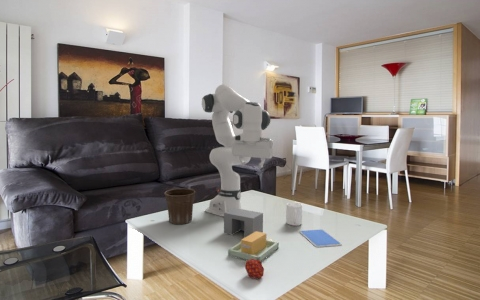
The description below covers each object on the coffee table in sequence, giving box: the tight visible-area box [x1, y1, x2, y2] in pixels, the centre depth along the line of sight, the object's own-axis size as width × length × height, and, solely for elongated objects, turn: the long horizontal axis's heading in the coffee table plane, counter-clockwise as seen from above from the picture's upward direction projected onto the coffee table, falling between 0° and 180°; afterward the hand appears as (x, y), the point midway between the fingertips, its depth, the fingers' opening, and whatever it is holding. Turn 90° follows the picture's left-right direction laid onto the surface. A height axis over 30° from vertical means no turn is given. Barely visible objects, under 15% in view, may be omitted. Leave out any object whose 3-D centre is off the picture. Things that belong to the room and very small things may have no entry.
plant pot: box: [164, 188, 196, 225], centre depth 173 cm, size 16×16×16 cm
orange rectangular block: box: [240, 231, 267, 255], centre depth 133 cm, size 5×13×6 cm, turn 147°
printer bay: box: [223, 208, 264, 238], centre depth 156 cm, size 16×10×10 cm, turn 59°
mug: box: [285, 201, 303, 227], centre depth 169 cm, size 12×8×10 cm
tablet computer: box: [299, 229, 343, 248], centre depth 150 cm, size 19×13×1 cm, turn 12°
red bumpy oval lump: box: [244, 259, 265, 279], centre depth 114 cm, size 6×7×8 cm
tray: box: [227, 239, 280, 262], centre depth 134 cm, size 14×18×2 cm
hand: (251, 166), depth 151 cm, fingers open, 8 cm apart
